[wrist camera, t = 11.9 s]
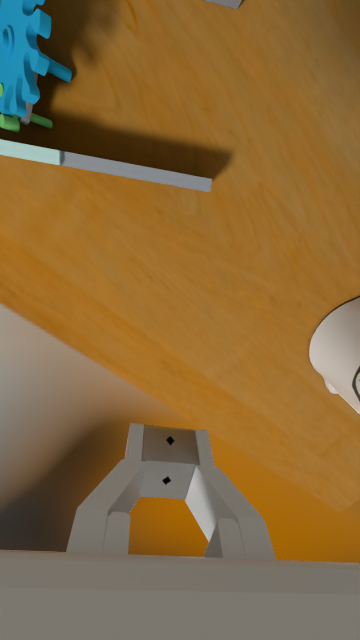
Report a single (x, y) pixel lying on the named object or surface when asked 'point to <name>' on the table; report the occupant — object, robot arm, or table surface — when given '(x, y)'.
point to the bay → (109, 165)
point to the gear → (23, 62)
